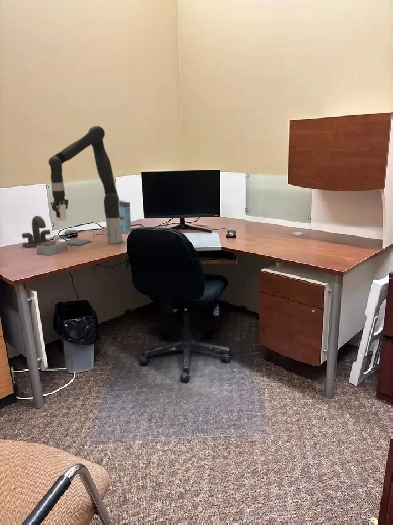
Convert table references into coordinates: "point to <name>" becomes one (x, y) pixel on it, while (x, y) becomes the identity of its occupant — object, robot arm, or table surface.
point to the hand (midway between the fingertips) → (61, 216)
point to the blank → (62, 213)
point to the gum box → (124, 216)
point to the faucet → (36, 233)
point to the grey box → (51, 248)
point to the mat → (77, 242)
